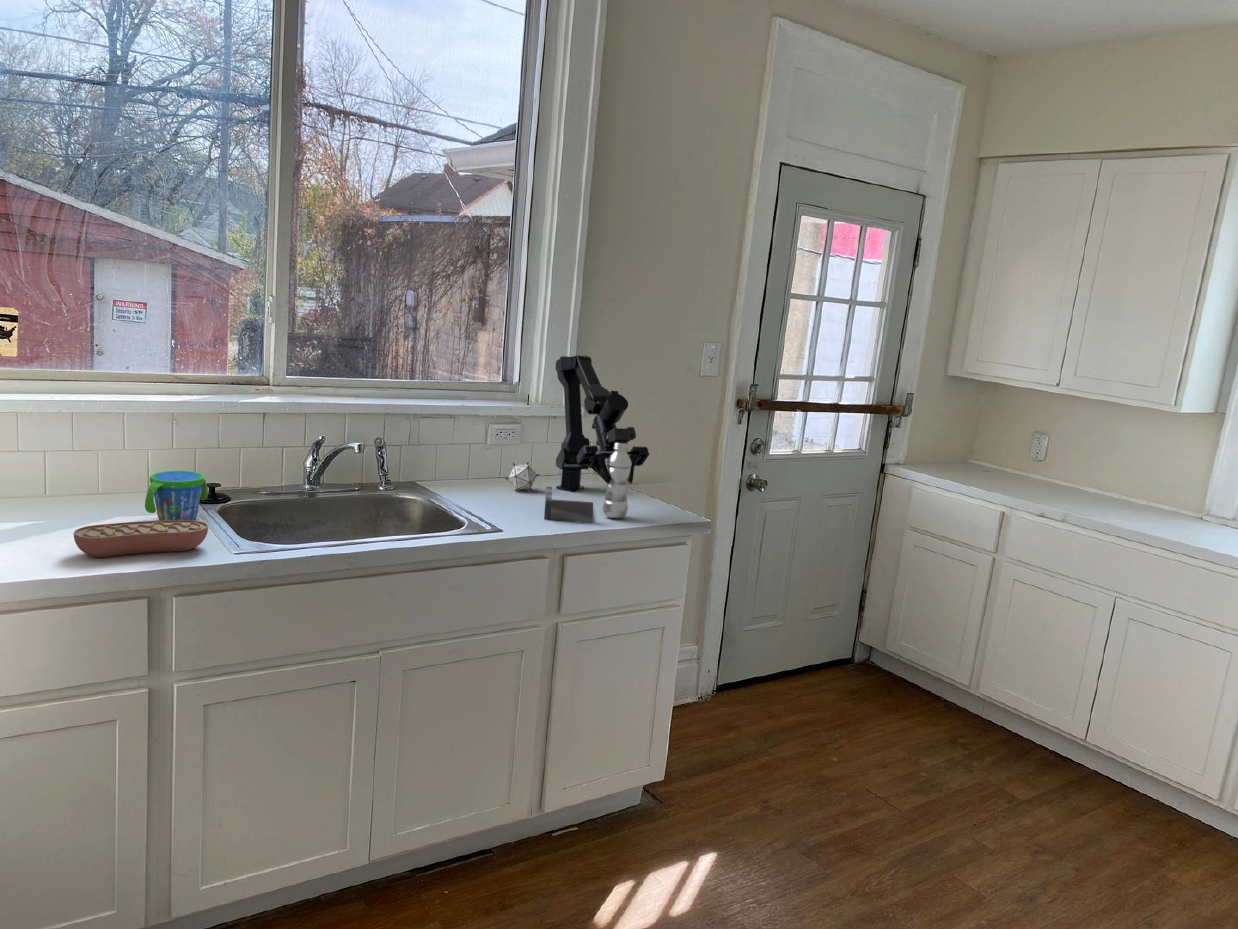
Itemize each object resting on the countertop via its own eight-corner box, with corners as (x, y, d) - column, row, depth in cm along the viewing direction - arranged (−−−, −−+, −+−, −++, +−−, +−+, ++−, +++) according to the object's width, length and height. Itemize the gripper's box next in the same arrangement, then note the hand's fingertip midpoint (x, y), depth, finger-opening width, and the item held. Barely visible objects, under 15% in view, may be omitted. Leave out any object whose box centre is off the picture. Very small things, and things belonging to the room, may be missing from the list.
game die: (514, 503, 255) (494, 474, 252) (527, 488, 262) (508, 460, 259) (536, 493, 250) (516, 464, 247) (549, 478, 256) (530, 450, 254)
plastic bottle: (598, 518, 232) (604, 442, 228) (607, 513, 238) (614, 439, 234) (621, 522, 229) (628, 445, 226) (630, 517, 236) (637, 442, 232)
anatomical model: (75, 565, 163) (75, 539, 162) (72, 550, 171) (71, 525, 170) (211, 554, 176) (212, 530, 175) (202, 541, 184) (202, 517, 183)
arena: (545, 504, 241) (546, 486, 240) (589, 507, 242) (591, 489, 241) (544, 519, 225) (545, 500, 224) (591, 522, 226) (593, 503, 225)
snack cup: (163, 532, 186) (163, 485, 185) (128, 523, 190) (127, 476, 189) (224, 518, 201) (224, 474, 199) (189, 510, 205) (190, 466, 203)
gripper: (584, 414, 228) (597, 465, 221) (649, 416, 236) (664, 466, 228) (570, 439, 237) (582, 489, 229) (634, 440, 245) (648, 489, 237)
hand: (620, 483), depth 231 cm, fingers closed on plastic bottle, 6 cm apart
